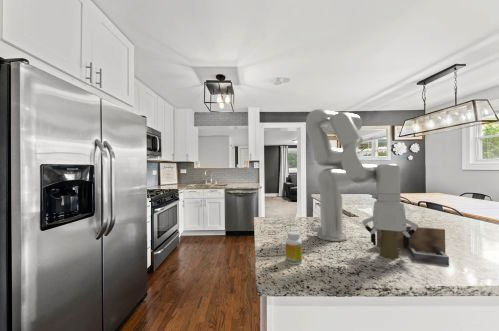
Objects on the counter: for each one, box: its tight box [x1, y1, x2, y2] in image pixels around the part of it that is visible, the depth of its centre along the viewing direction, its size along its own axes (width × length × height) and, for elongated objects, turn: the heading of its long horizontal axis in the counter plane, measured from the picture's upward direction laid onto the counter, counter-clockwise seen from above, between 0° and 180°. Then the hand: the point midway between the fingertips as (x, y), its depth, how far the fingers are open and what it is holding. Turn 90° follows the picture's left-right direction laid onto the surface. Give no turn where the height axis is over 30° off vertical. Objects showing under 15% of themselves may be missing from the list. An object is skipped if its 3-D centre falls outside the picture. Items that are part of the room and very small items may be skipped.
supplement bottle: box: [285, 231, 303, 266], centre depth 80 cm, size 5×5×10 cm
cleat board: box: [376, 225, 450, 266], centre depth 86 cm, size 22×13×9 cm, turn 66°
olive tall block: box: [378, 230, 400, 260], centre depth 85 cm, size 6×6×11 cm
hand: (389, 246), depth 85 cm, fingers open, 9 cm apart
